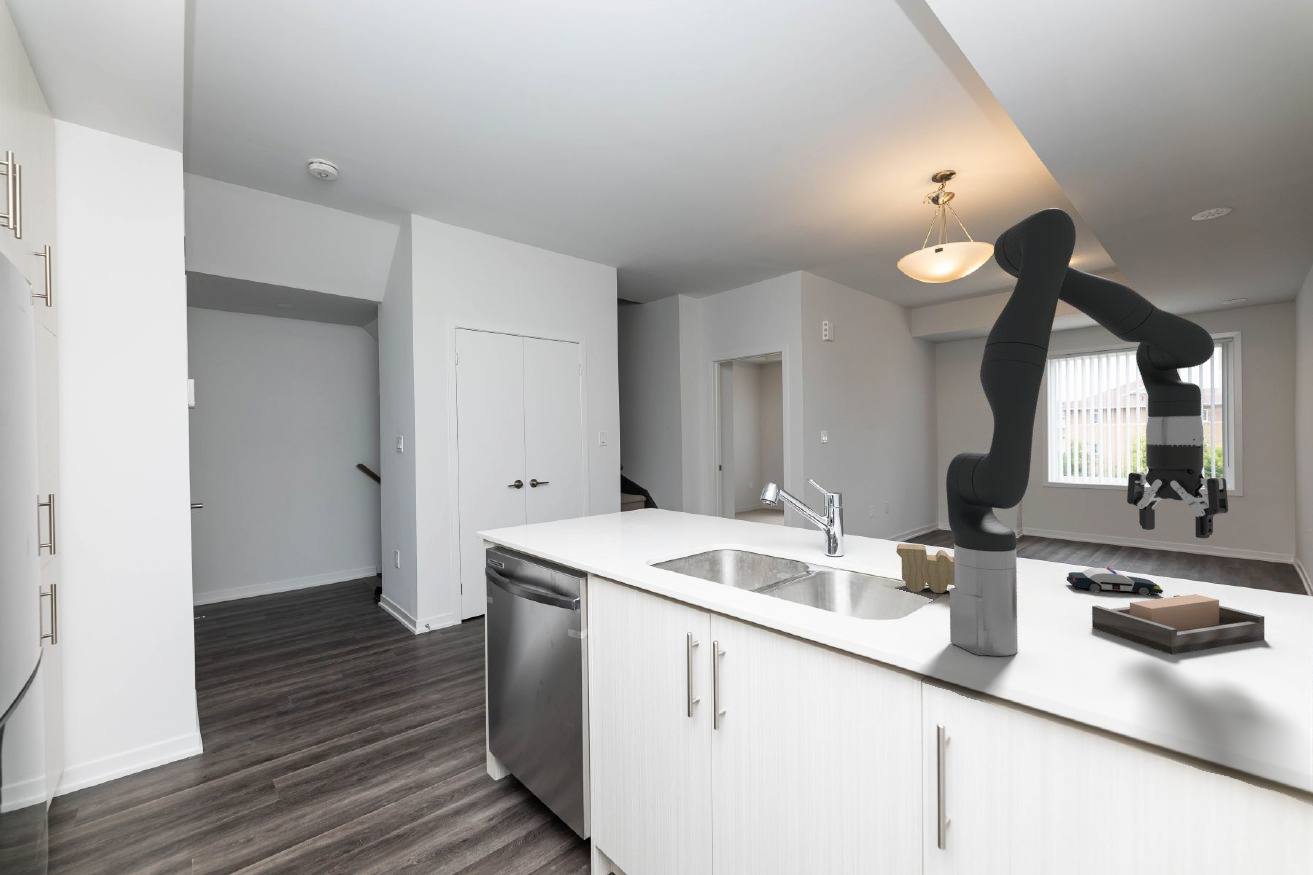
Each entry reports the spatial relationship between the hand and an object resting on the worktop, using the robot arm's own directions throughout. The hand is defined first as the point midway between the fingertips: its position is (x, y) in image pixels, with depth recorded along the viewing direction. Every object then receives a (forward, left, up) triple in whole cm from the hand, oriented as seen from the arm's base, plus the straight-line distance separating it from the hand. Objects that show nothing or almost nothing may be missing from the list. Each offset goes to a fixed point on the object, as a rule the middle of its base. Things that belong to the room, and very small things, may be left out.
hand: (1174, 533), depth 101 cm
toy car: (+16, +23, -18) cm, 34 cm away
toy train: (-20, +35, -18) cm, 44 cm away
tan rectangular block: (0, 0, -17) cm, 17 cm away
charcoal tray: (0, 0, -18) cm, 18 cm away
